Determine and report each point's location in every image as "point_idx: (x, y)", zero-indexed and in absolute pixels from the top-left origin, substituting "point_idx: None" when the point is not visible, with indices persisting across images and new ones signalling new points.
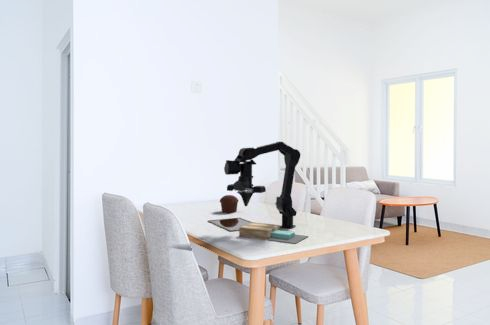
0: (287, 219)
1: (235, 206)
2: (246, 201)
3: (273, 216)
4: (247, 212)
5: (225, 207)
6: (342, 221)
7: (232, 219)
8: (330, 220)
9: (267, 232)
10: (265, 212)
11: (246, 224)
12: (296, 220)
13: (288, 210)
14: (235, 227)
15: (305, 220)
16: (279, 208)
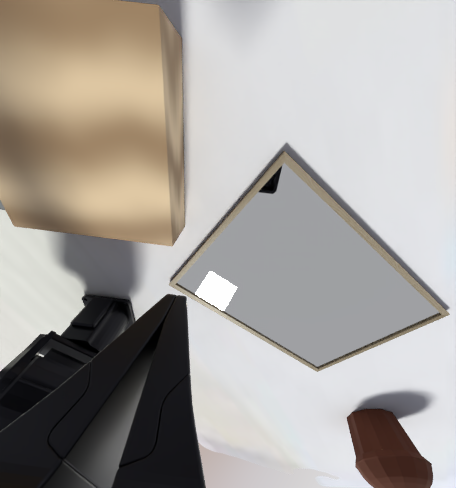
0: (71, 323)
1: (357, 438)
2: (126, 337)
3: (224, 396)
4: (311, 416)
5: (391, 431)
6: None
7: (337, 350)
8: None
9: None
10: (263, 420)
11: (256, 300)
12: None
13: (20, 358)
14: (284, 239)
15: None
16: (69, 373)
